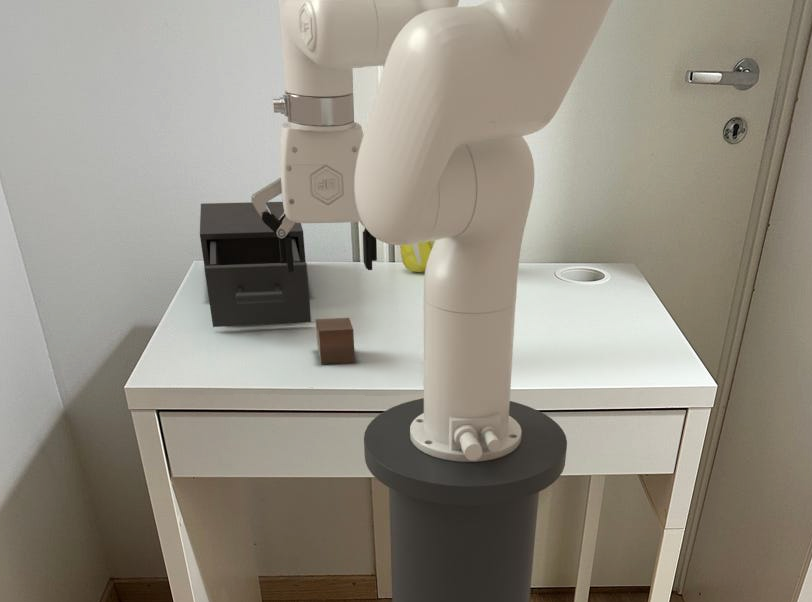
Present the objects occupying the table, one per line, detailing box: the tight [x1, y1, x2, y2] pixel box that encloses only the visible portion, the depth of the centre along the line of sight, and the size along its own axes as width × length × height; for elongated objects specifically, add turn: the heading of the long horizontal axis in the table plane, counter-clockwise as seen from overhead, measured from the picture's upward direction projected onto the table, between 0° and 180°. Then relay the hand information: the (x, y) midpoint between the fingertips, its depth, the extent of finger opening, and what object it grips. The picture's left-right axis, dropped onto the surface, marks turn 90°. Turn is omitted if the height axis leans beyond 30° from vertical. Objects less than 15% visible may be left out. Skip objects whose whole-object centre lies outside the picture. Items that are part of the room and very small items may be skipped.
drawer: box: [203, 237, 312, 328], centre depth 128 cm, size 21×13×8 cm, turn 12°
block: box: [315, 317, 356, 365], centre depth 118 cm, size 4×4×4 cm
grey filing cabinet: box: [199, 201, 307, 267], centre depth 140 cm, size 18×15×10 cm
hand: (329, 267), depth 113 cm, fingers open, 9 cm apart
